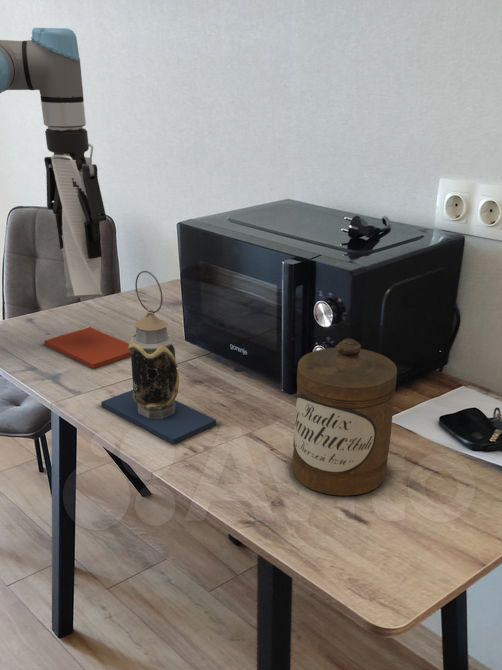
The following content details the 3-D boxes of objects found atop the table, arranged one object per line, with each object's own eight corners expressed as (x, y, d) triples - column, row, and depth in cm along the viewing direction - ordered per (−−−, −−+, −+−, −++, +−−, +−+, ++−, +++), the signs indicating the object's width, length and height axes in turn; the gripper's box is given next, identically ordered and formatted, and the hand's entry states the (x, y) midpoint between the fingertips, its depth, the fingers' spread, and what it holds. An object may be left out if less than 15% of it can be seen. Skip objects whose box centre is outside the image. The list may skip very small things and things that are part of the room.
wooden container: (275, 478, 110) (280, 345, 98) (318, 439, 121) (327, 315, 109) (362, 507, 104) (378, 369, 92) (399, 463, 114) (418, 335, 103)
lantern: (124, 409, 126) (110, 270, 113) (159, 395, 131) (150, 260, 118) (155, 426, 121) (145, 282, 108) (190, 411, 126) (184, 271, 113)
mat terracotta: (44, 344, 153) (43, 340, 153) (90, 331, 161) (90, 326, 160) (93, 368, 143) (93, 364, 143) (140, 352, 151) (139, 348, 150)
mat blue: (101, 406, 129) (101, 401, 129) (144, 390, 135) (144, 385, 135) (173, 444, 118) (173, 439, 117) (216, 424, 124) (216, 419, 124)
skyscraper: (107, 285, 149) (91, 140, 134) (109, 297, 142) (93, 145, 127) (66, 288, 147) (45, 140, 132) (67, 300, 140) (45, 146, 125)
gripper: (118, 132, 125) (129, 260, 137) (50, 120, 137) (65, 239, 149) (83, 135, 120) (97, 267, 132) (15, 123, 132) (34, 245, 145)
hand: (80, 252), depth 141 cm, fingers closed on skyscraper, 9 cm apart
